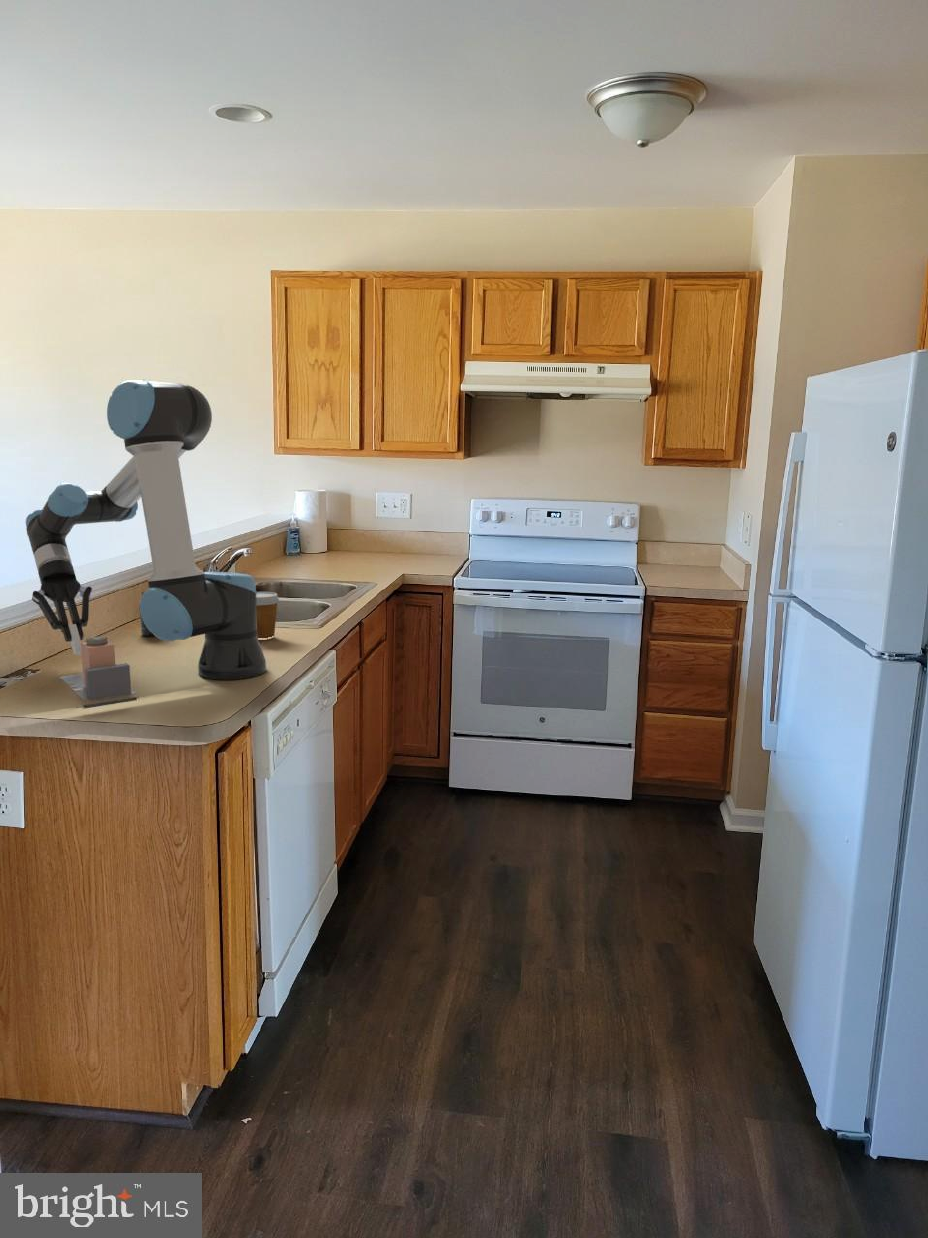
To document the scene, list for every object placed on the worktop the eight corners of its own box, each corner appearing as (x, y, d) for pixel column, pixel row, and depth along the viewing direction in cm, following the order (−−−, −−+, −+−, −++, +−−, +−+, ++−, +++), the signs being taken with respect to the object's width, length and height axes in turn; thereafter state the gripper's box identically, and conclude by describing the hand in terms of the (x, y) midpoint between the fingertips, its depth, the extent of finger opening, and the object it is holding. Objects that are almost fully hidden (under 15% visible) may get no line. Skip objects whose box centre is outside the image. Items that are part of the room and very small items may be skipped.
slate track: (59, 683, 187) (57, 649, 185) (107, 676, 193) (105, 644, 191) (85, 708, 170) (82, 671, 168) (136, 700, 176) (134, 664, 174)
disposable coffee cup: (287, 638, 233) (286, 594, 230) (257, 643, 226) (256, 599, 223) (266, 632, 239) (265, 590, 237) (236, 638, 232) (235, 594, 230)
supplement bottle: (158, 630, 239) (156, 588, 237) (172, 634, 235) (170, 591, 233) (135, 634, 234) (133, 591, 232) (149, 638, 230) (146, 594, 227)
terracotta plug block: (83, 684, 179) (80, 637, 177) (108, 680, 182) (105, 634, 180) (91, 691, 175) (87, 643, 173) (116, 687, 178) (113, 640, 176)
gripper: (82, 575, 207) (106, 656, 198) (23, 579, 200) (44, 664, 190) (86, 556, 202) (111, 638, 193) (25, 559, 194) (48, 646, 185)
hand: (78, 651), depth 191 cm, fingers closed
